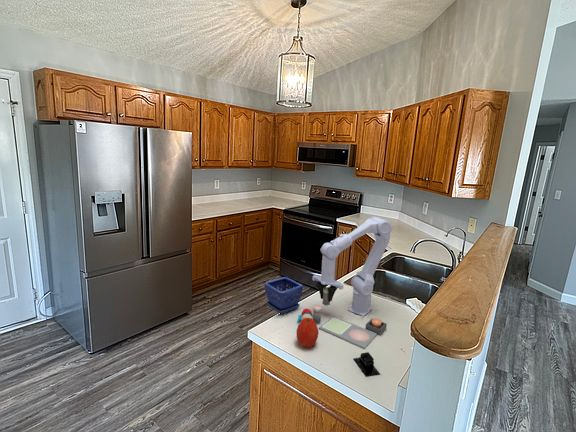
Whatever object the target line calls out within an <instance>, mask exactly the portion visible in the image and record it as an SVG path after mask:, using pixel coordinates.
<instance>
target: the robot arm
mask: <svg viewBox="0 0 576 432" xmlns="http://www.w3.org/2000/svg"><path fill="white" fill-rule="evenodd" d="M392 230H393V226H392V223H390V221H389V220H387V219H382V218H380V217H378V216H375V215H372V216H371V217H369V218H368V219H366V220H365V222H363V223H362V224H361V225H359V226H358V227H356V228H355V229H353V230H352V231H351V232H349V233H341V234H339V236H338V237H337V238H334V239H333V240H331V241H330V242H324V243H323V245H322V246H321V248H320V253H321V254H322V260H321V273H320V275H316V274H314V275H312V276H311V277H312V281H313V282H314V281H316V282H317V283H316V284H315V285H316V286H315V287H317V289H318V291H319V297H320V299H321V300H323V288H324V287H328V302H330V303H331V302H332V301H333V298H334V296H335V293H336V291H337V290H338V289H339V290H343V289H344V283H341V282H340V281H338V280H335V273H336V272H335V271H336V261H337V260H336V259H337V258H338V256H339V254H341V252H343V251H344V250H346V249H348V248H349V247H351V246H352V245H353V244H352V243H353V241H355V240H357V239H359V238H361V237H363V236H364V235H367V234H368V233H369V234H374V238H375V240H374V243H373V245H372V247H371V249H370V251H369V253H368V256H367V258H366V260H365V263H364V264H363V267H362V268H361V270H359V271H356V274H355V275H354V276H353V277H352V279H351V281H350V283H351V286H352V289H353V290H352V299H351V300H352V301H351V306H350V307H349V308H348V310H347V311H349V312H352V313H354V314H357V315H359V316H362V317H365V316H367V314H369V312H370V311H372V310H373V307H371V306H372V305H371V304H372V293H373V292H374V291H373V290H374V284H375V279H374V274H375V272H376V270H377V269H378V266H379V263H380V262H381V260H382V257H383V256H384V253H385V251H386V249H387V247H388V245H389V243H390V239H391V232H392Z"/></svg>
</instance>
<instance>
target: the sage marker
mask: <svg viewBox="0 0 576 432" xmlns="http://www.w3.org/2000/svg"><path fill="white" fill-rule="evenodd" d="M328 287H329V286H326V287H324V288H323V299H322V305H324V306H329V305H331V301H330V302H328Z"/></svg>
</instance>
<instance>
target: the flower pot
mask: <svg viewBox="0 0 576 432" xmlns="http://www.w3.org/2000/svg"><path fill="white" fill-rule="evenodd" d="M303 287H304V286H303V285H302V284H301V283H299V282H297V281H296V280H293V279H291V278H289V277H287V276H283V277H280V278H276V279H273V280H270V281H267V282H265V283H264V291H265V296H266V298H267V300H268V301H266V305H267V306H269V308H271V309H272V310H273V311H275V312H277V313H278V314H280V313H281V314H280V315H282V314H285V313H288V312H291V311H293V310H295V309H298V308H299V306H300V305H301V304H299V301H300V300H301V296H302V293H303Z"/></svg>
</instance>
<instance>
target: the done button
mask: <svg viewBox="0 0 576 432" xmlns="http://www.w3.org/2000/svg"><path fill="white" fill-rule="evenodd" d="M372 318H373V317H372ZM372 318H371V319H372ZM381 322H383V321H382V319H380V318H375V317H374V318H373V319H372V326H374V327H377V328H379V327H381Z"/></svg>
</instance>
